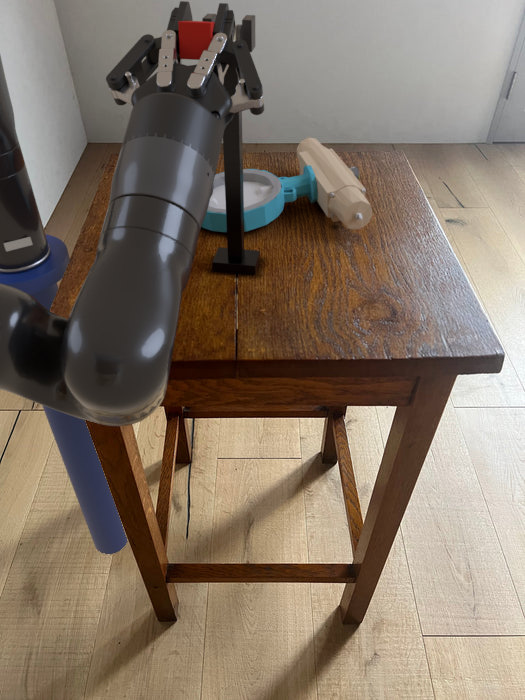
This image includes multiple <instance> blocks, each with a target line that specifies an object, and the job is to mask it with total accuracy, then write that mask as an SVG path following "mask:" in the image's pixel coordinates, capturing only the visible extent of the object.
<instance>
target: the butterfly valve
mask: <svg viewBox="0 0 525 700" xmlns="http://www.w3.org/2000/svg"><path fill="white" fill-rule="evenodd" d="M296 157H297V159H298V165H299V175H295V176H289V177H288V176H280V177H279V176H277V175H276V174H273V173H272V172H270V171H268V170H265V169H258V168H257V169H256V168H243V196H244V233H246V232H250V231H253V230H256V229H258V228H261V227H264V226H267V225H269V224H270V223H271V222H273V221H274V220H276V219H277V218H278V217H279V216H280V215H281V213H282V212H283V210H284V207H285V203H292V202H295V201H296V200H297V198H302V197H307V198H308V200H309V202H310V203H311V204H314V203H316V202H317V204H318V205H319V206H320V208H321V210H322V211H323V213H324V214H325V216H326V217H327V218H330V220H331V221H332V222H333V223H335V222H340V221H341V223H342V224H343V225H344V226H345V227H346V229H349V230H353V231H356V230H361V229H363V228H364V227H366V226H367V225H368V224H369V223H370V221H371V219H372V217H373V216H374V214H373V208H372V204H370V202H369V200H368V199H367V198H366V192H367V189H366V187H365V186H364V185H363V184H362V183H361V181H360V179H361V176H360V170H359V168H358V167H357V166H355V165H354V166H351V167H348V165H346V163H345V162H344V161H343V160H342V158H341V157H340V156H339V155H338V153H336V152H335V150H334V149H333V148H328V147H326V146H325V145H323V144H322V143H321V142H320V141H319V140H318V139H317V138H315V137H314V138H313V137H306V138H305V139H303V140H301V141H300V142H299V144H298V146H297V147H296ZM213 183H214V189H213V194H212V196H211V198H210V201H209V206H208V209H207V212H206V215H205V218H204V221H203V223H202V226H201V229H206V230H208V231H211V232H219V233H227V223H226V200H225V176H224V171H222V172H219V173H215V177H214V182H213Z"/></svg>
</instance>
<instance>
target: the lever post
mask: <svg viewBox="0 0 525 700" xmlns="http://www.w3.org/2000/svg"><path fill="white" fill-rule="evenodd" d="M216 15H217V13H206V14H205V15H204V16H203V17H202V21H205V22H215V20H216ZM241 25H242V40H244V41H245V42H246V43H247V46H248V48H249V51H250V53H252V52H253V51H254V49H255V48H256V15H255V14H246V15H244V17H243V18H242V20H241ZM238 84H239V78H238V75H237V72H236V68H235V67H233V66H230V65H229V67H228V69H227V71H226V73H225V76H224V83H223V86H224V88H225V89H226V91H227V92H228V94H229V95H230V97H231V96H233V95H234V94H235V93H236V86H237V85H238ZM243 148H244V147H243V111H241V112H237V113H234V116H233V118H232V120H231V121H230V123H229V124H228V125H227V126H226V128H225V130H224V134H223V140H222V149H223V172H224V176H225V200H226V223H227V232H226V242H227V243H226V245H227V247H222V246H220V247H217V249H216V252H215V255H214V257H213V259H212V262H211V263H212V264H211V265H212V271H213V272H217V273H228V274H239V275H251V276H256V274H257V271H258V268H259V264H260V261H261V251H260V250H257V249H245V232H244V196H243V169H244V158H243V157H244V152H243V151H244V149H243Z"/></svg>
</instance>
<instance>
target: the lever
mask: <svg viewBox="0 0 525 700" xmlns="http://www.w3.org/2000/svg"><path fill="white" fill-rule="evenodd" d="M214 24H215V22H205V21H200V20H193V21H179V22H178V25H179V50H180V59H182V60H192V61H193V60H195V61H199V59H200V57H201V55H202V53H203V51H204V50H207V49H208V47H209V45H210V43H211V41H212V38H213V28H214ZM235 25H236V31H235V35H234V40H233V41H234V42H235V41H236V40H242V24H239V23H235Z"/></svg>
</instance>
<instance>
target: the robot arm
mask: <svg viewBox="0 0 525 700" xmlns="http://www.w3.org/2000/svg"><path fill="white" fill-rule="evenodd" d="M229 6H230V5H229V3H226V2H220V3H219V4H218V7H217V12H216V20H215V24H214V28H213V38H212V41H211V43H210V45H209V47H208V49H207V50H204V51H203V53H202V55H201V57H200V59H199V60H198V62H197V64H191V65H190V64H189V65H186V64H183V63H182V60H183V59H180V50H179V25H178V22H179V21H194V20H193V13H192V9H191V4H190V1H188V0H187V1H186V0H179V4H178V7H176V6H175V7H174V8H173V9H172V10H171V13H170V17H169V20H168V24H167V28H166V30H165V31H163V32H162V34H161V36H160V37H154V36H153V34H149V33H148V34H144V35H142V36H141V37H140V38H139V39H138V40H137V42H136V43H134V45H133V46H132V47H131V48H130V49H129V51H128V52H126V54H125V55H124V56H123V57H122V58H121V60H119V61H118V63H116V65H115V66H114V67H113V68H112V69H111V70H110V72H109V73H108V74H107V75H106V77H105V81H106V84H107V86H108V90H109V92H110V93H111V96H112V98H113V100H114V103H115V104H116V105H117V106H125V105H126V104H129V105H131V106H132V109H131V111H130V115H129V119H128V122H127V126H126V129H125V133H124V137H123V139H122V144H121V148H120V151H119V155H118V158H117V162H116V165H115V169H114V172H113V175H112V179H111V187H110V195H109V201H108V207H107V210H106V213H105V214H106V215H105V216H104V221H103V224H102V227H101V231H100V235H99V239H98V243H97V248H96V253H95V259H94V261H93V264H92V265H91V267H90V268H89V270H88V272H87V274H86V277H85V279H84V281H83V283H82V285H81V287H80V289H79V292H78V294H77V296H76V297H75V301H74V303H73V306H72V308H71V310H70V312H69V316H68V318H66V317H64V316H61V315H58V314H57V315H56V314H54V313H52V312H50V311H49V310H47V309H46V308H45V307H44V306H43V305H41V304H40V303H39V302H38V301H37V300H36V299H35V298H34V297H33V296H31V295H29V294H28V293H26V292H24V291H21V290H19V289H17V288H14V287H11V286H8V285H5V284H2V283H0V391H5V392H6V393H7V392H8V393H9V394H10V393H11V394H14V395H16V396H19V397H21V398H23V399H25V400H28V401H30V402H34V403H36V404H39V405H41V406H42V405H44V406H46V407H49V408H52V409H54V410H57V411H60V412H63V413H65V414H68V415H71V416H74V417H77V418H80V419H83V420H87V421H90V422H94V423H97V424H98V425H103V426H109V427H126V426H131V425H135V424H138V423H139V422H142V421H144V420H145V419H147V418H149V417H150V416H151V415H153V413H155V412H156V411H157V409H159V407H160V406H161V404H162V403H163V401H164V399H165V396H166V393H167V390H168V384H169V378H170V377H169V376H170V373H171V366H172V359H173V352H174V349H175V341H176V335H177V330H178V324H179V317H180V312H181V306H182V305H181V304H182V300H183V299H182V298H183V292H184V291H185V289H186V287H187V286H188V283H189V279H190V276H191V273H192V268H193V265H194V262H195V261H194V260H195V256H196V252H197V247H198V242H199V237H200V233H201V229H202V227H201V226H202V223H203V221H204V218H205V215H206V212H207V209H208V206H209V201H210V198H211V196H212V194H213V189H214V183H213V182H214V177H215V174H217V173H216V172H217V167H218V163H219V159H220V153H221V149H222V145H223V134H224V130H225V128H226V126H227V125H228V124H229V123H230V121H231V120H232V118H233V116H234V113H237V112H241V111H242V112H244V111H248V110H249V112H250V114H252V115H254V116H259V115H262V114H263V113H264V111H265V101H264V89H263V84H262V81H261V78H260V75H259V73H258V69H257V68H256V65H255V62H254V59H253V57H252V53H251V52H250V51H249V48H248V46H247V43H246V42H245V41H244V40H236V41H235V42H234V41H233V40H234V35H235V31H236V25H235V24H236V19H235V13H234V10H232V9H230V8H229ZM229 65H230V66H233V67H235V68H236V72H237V75H238V78H239V84H238V85H237V86H236V93H235V94H234V95H233V96H231V97H230V95H229V94H228V92H227V91H226V89H225V88H224V86H223V83H224V76H225V73H226V71H227V69H228V67H229ZM156 70H157V72H156ZM25 161H26V160H25V158H24V154H23V151H22V148H21V144H20V141H19V137H18V133H17V129H16V120H15V111H14V107H13V103H12V99H11V96H10V91H9V87H8V83H7V79H6V74H5V69H4V65H3V61H2V56H1V54H0V273H2V274H16V273H22V272H26V271H29V270H32V269H35V268H37V267H39V266H40V265H42V264H43V263H45V262H46V261H47V260H48V258H49V257H50V254H51V250H50V247H49V244H48V241H47V239H46V235H45V234H46V231H45V228H44V225H43V222H42V221H43V220H42V218H41V214H40V211H39V207H38V203H37V200H36V197H35V193H34V189H33V186H32V182H31V179H30V175H29V172H28V168H27V164H26V162H25Z"/></svg>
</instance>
